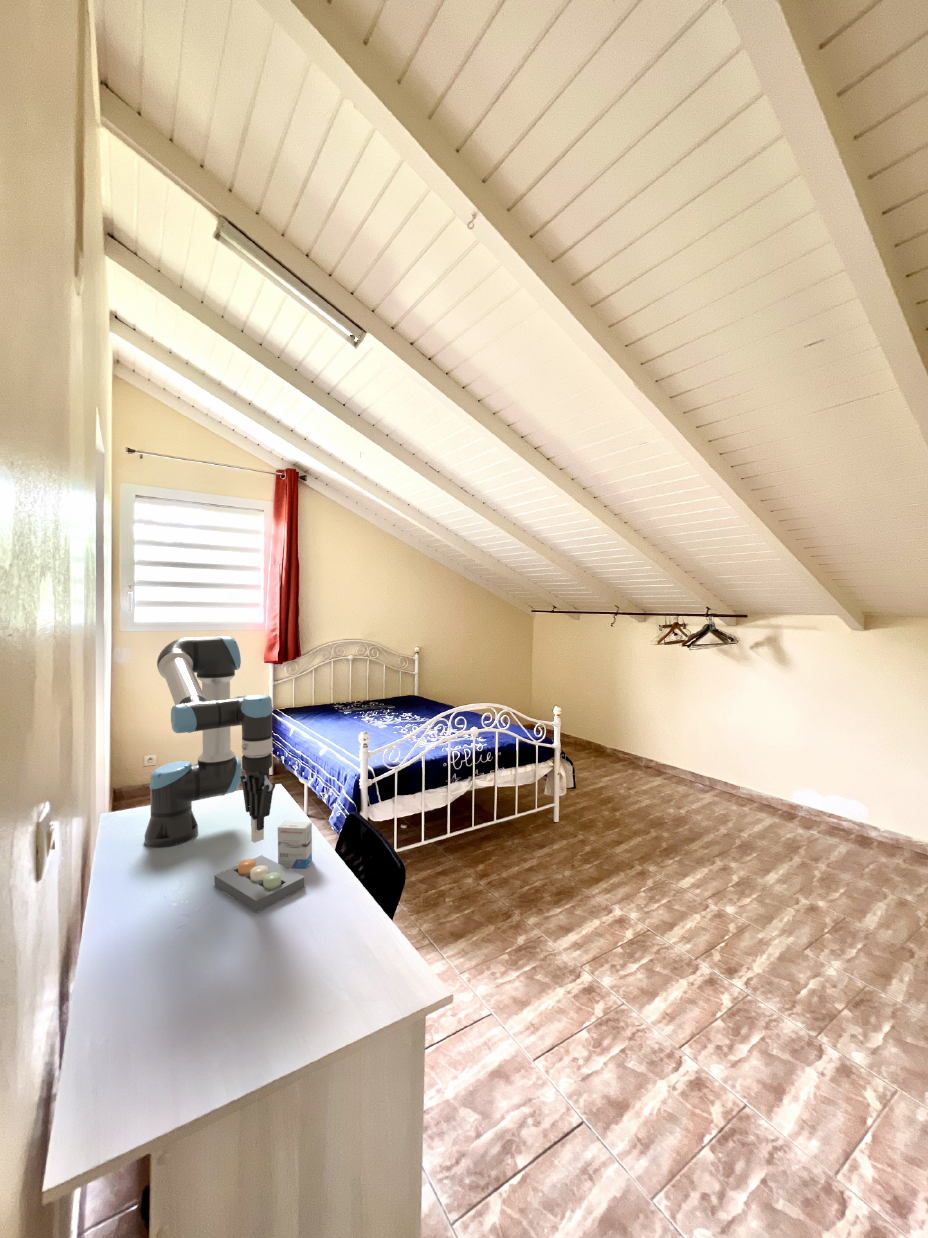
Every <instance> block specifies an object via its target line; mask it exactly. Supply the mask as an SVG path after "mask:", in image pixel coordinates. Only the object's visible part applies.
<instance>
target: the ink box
mask: <svg viewBox="0 0 928 1238" xmlns="http://www.w3.org/2000/svg"><path fill="white" fill-rule="evenodd" d="M312 827H313V822H312V821H310V822H309V821H291V820H290V821H289V820H285V821H283V822H282V823H281V824H280V825H279V826H278V827H277V863H278V864H280V865H282V866H284V867H286V868H288V869H290V868H291V869H307V868H308V867H309V865H310V864H311V863H312V861H313V834H312V833H313V832H312V831H313V828H312Z"/></svg>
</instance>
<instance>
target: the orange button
mask: <svg viewBox="0 0 928 1238" xmlns="http://www.w3.org/2000/svg"><path fill="white" fill-rule="evenodd" d="M237 866H238V873H239V874H241V875H243V876H244V875H247V874H249V873H250V870H251V869H252V868H254V867H255V860H254V858H247V859H243V860H241V861H239V862H238V863H237Z"/></svg>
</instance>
